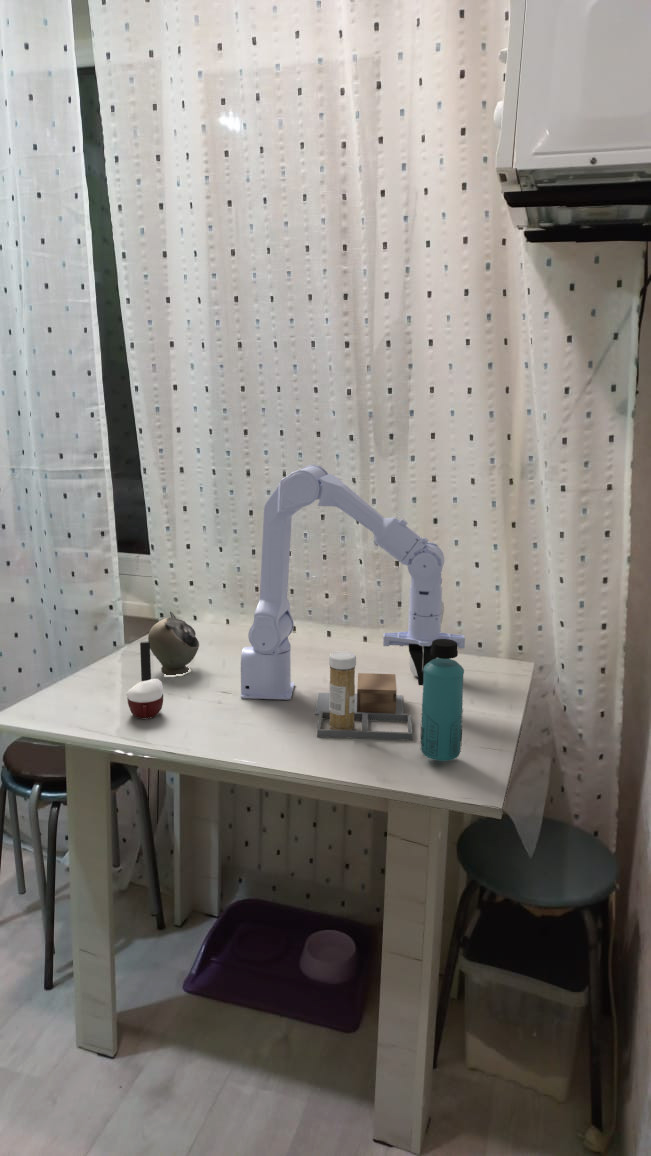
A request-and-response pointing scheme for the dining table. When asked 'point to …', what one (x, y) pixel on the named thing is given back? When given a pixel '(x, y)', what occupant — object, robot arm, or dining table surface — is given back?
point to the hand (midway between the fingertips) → (422, 683)
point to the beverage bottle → (442, 703)
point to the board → (324, 704)
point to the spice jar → (342, 690)
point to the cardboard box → (376, 693)
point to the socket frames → (365, 733)
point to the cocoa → (145, 689)
